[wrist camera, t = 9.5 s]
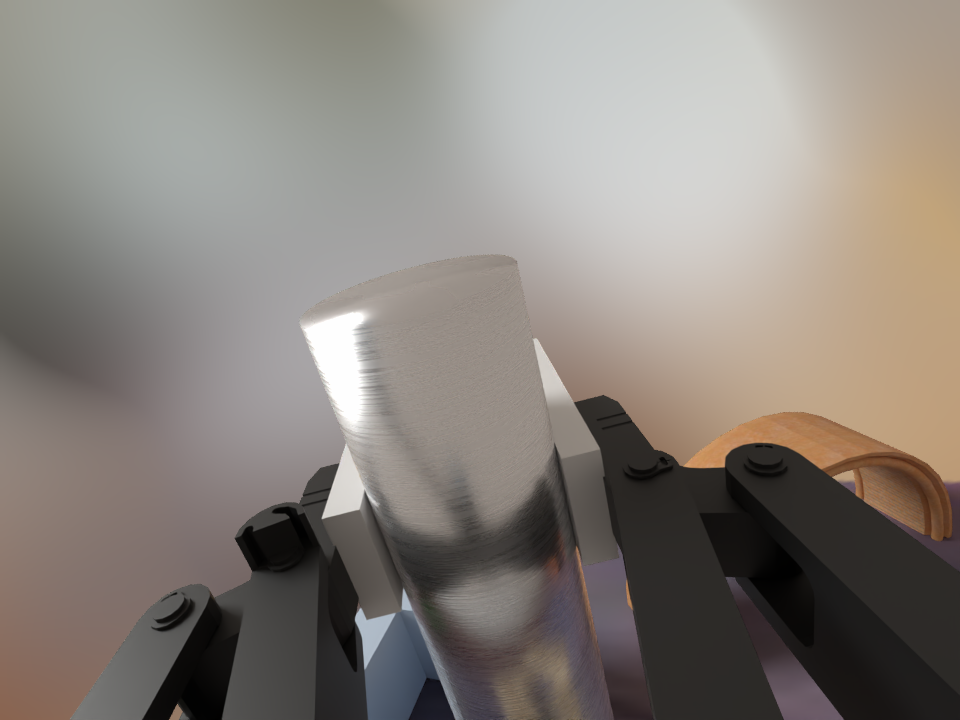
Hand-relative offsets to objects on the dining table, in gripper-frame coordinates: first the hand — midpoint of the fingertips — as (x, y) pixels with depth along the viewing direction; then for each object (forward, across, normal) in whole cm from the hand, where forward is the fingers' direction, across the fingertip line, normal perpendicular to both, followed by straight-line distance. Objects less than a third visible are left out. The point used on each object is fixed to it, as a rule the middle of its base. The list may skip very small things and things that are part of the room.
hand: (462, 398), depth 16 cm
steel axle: (-5, 0, -9) cm, 10 cm away
